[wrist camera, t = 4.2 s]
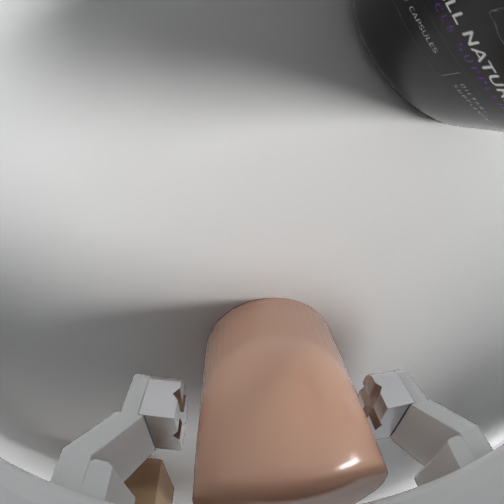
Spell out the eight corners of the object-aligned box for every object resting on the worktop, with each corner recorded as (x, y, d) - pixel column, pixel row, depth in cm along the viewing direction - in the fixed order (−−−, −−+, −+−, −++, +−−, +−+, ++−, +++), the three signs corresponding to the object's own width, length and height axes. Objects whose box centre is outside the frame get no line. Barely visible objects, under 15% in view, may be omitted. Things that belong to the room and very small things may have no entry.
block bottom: (161, 460, 14) (153, 515, 10) (173, 488, 15) (169, 532, 12) (87, 444, 13) (71, 493, 10) (110, 476, 15) (100, 517, 11)
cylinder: (341, 297, 10) (420, 439, 4) (318, 389, 11) (352, 511, 6) (205, 296, 10) (179, 464, 4) (209, 390, 11) (201, 523, 6)
